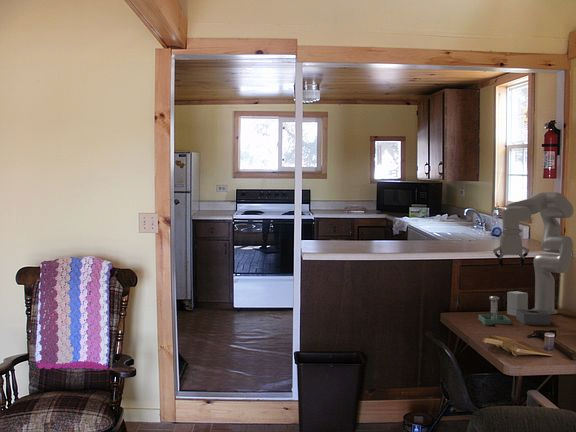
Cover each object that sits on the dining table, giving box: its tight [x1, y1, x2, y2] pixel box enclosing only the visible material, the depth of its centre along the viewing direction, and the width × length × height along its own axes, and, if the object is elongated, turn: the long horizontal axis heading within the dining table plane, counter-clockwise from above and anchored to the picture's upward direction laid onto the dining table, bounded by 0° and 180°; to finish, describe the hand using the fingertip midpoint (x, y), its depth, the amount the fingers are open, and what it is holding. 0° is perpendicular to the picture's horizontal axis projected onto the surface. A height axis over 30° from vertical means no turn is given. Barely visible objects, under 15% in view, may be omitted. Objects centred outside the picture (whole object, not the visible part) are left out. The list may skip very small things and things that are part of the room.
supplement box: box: [506, 290, 529, 317], centre depth 287 cm, size 7×7×13 cm
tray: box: [478, 314, 512, 326], centre depth 271 cm, size 12×12×3 cm
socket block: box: [515, 308, 552, 326], centre depth 269 cm, size 12×12×6 cm
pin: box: [488, 295, 500, 320], centre depth 271 cm, size 4×4×12 cm
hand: (511, 266), depth 275 cm, fingers open, 9 cm apart
